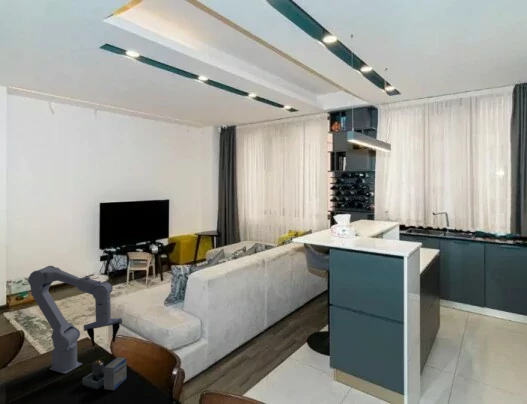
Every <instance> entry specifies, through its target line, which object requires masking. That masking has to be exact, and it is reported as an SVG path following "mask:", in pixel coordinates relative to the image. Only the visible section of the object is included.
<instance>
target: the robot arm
mask: <svg viewBox="0 0 527 404" xmlns="http://www.w3.org/2000/svg"><path fill="white" fill-rule="evenodd" d="M57 281H58V282H61V283H65V284H68V285H71V286H76V289H77V290H78V291H80V292H83V293H86V294H89V295H92V297H93V298H94V299H95V300H94V301H95V321H94V322H90V323H87V324H83V331H84V332H86V333H87V334H88V337H89V338H90V341H91V345H92V347H93V348H94V347H95V345H96V344H95V330H94V329H98V328H105V327H108V326H112V337H111V338H112V339H111V340H112V343H115V341H116V337H117V334H118V332H119V330H120V327H121V324H123V317H118V318H112V317H111V315H112V313H111V310H112V309H111V308H112V307H111V293H112V292H113V285H112V284H111V283H110V282H109V281H103V282H102V281H101V280H95V279H93V278H91V276H83V277H81V278H80V277H79V276H77V275H74V274H71V273H69V272H66V271H64V270H62V269H60V268H59V267H56V266H54V265H48V266H45V267H43V268H41V269H37V270H34V271H32V272H31V273H30V274H29V276H28V279H27V282H28V283H27V284H29V286H30V294H31V296H32V298H33V300H34V301H35V302H36V305H37V306H38V309H40V312H41V313H42V314H43V316H44V318H45V319H46V321H47V323H48V324H49V326H50V327H51V329H52V333H51V337H50V338H51V340H52V345H53V349H52V351H51V367H49V370H52V371H55V372H56V373H57V372H58V373H62V374H65V375H66V374H67V373H70V372H71V371H73V370H75V369H77V368H78V367H80V366H82V365H83V363H82V362H79V361H78V340H79V339H80V336H81V332H80V329H78V328H77V327H76V326H75V325H74V324H73V323H72V322H68V321H67V320H66V318H65V317H64V314H63V313H62V312H61V310H60V308H59V306H58V305H57V303H56V301H55V300H54V298H53V296H52V295H51V293H50V291H49V289H50V287H51V285H52V284H53V282H57Z"/></svg>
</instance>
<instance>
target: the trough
mask: <svg viewBox="0 0 527 404" xmlns="http://www.w3.org/2000/svg"><path fill="white" fill-rule="evenodd" d="M82 386H84V387H87V388H91V389H93V390H98V389H100V388H101V387H104V378H102V379H101V380H99V381H98V382H96V381H93V380H92V372H91V373H89V374H88V375H86V376H83V378H82Z"/></svg>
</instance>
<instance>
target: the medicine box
mask: <svg viewBox="0 0 527 404" xmlns="http://www.w3.org/2000/svg"><path fill="white" fill-rule="evenodd" d="M126 379H127V358H126V357H118V356H117V357H116V358H114V359H113V360H112V361H110V362H109V363H108V364H107V365H105V366H104V385H103V389H104V390H107V391H109V390H110V391H115V390H116V389H118V387H119V386H121V384H123V382H125V381H126Z"/></svg>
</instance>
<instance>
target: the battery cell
mask: <svg viewBox="0 0 527 404" xmlns="http://www.w3.org/2000/svg"><path fill="white" fill-rule="evenodd" d="M104 365H105V364H104V360H101V359H99V360H95V361H94V362H92V363H91V366H92V367H91V371H92V372H91V373H92V380H93V381H96V382H98V381H99V380H101V379H102V378H104V367H105V366H104Z"/></svg>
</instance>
